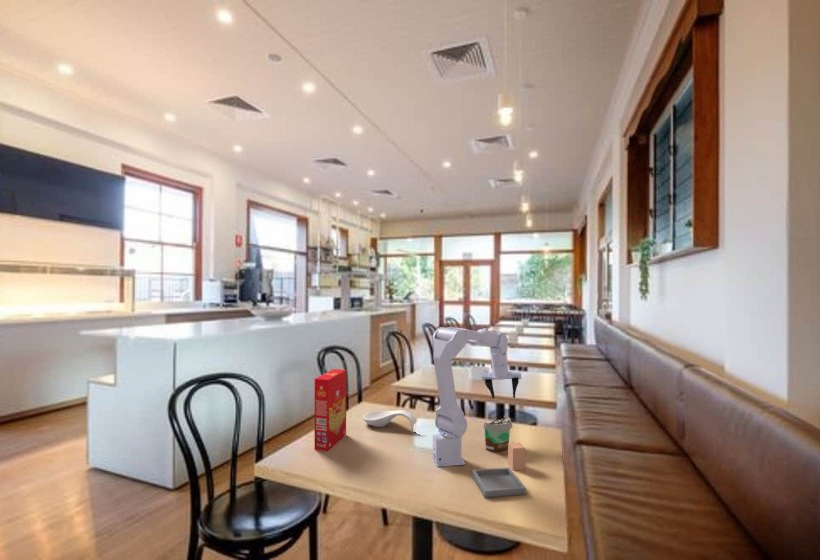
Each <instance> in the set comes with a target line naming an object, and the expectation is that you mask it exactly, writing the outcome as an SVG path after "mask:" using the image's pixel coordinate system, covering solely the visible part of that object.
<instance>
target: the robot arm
mask: <svg viewBox="0 0 820 560" xmlns="http://www.w3.org/2000/svg"><path fill="white" fill-rule="evenodd" d="M469 340H470V341H475V343H476V344H477V345H479V346H483V347H488V348H489V353H490V360H491V366H492V367H491V368H492V372H488V373H482V374H481V382H484V384H485V386H486V388H487V389H488V391H489V393H490V395H491V398H492V399H495V391H494V386H493V381H495V380H497V381H498V380H499V381H500V380H501V381H503V380H511V386H512V397H513V398H514V399H515V398H516V391H517V387H518V385H519V382H520V381H519V380H522V372H521V371H509V365H508V358H507V356H508V355H507V351H508V344H509V338H508V336H507V335H506V334H505V333H503V332H497V331H496V330H493V329H492V330H490V329H488V328H487V327H482V329H477V331H475V330H471V329H468V328H464V327H463V328H461V327H453V326H447V327H443V326H440V327H438V328H437V329H436V330H435V332H434V333H433V335H432V343H433V355H432V357H433V358H432V359H433V364H434V372H435V379H436V385H437V390H438V391H437V392H438V397H439V405H440V406H439V407H437V408H436V409H435V419H434V423H435V427H436V429H438V433H435V434H433V435H432V459H433V460H434V463H435V466H436V467H449V466H450V467H453V466H465V465H466V462H465V461H464V459H463V457H462V453H463V452H462V450H463V449H462V446H463V445H462V441H463V440H462V439H463V436H465V433H466V432H467V428H468V421H467V419H466V418H465V413H464V412H463V410H462V409H461V407H460V406H459V405H458V400H457V394H456V387H455V380H454V373H453V367H452V360H453V358H456V357H457V356H458V355H459V353H461V351H462V350H463V349H464V347H466V344H469V343H468V342H469Z"/></svg>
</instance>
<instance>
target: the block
mask: <svg viewBox="0 0 820 560" xmlns="http://www.w3.org/2000/svg"><path fill="white" fill-rule="evenodd" d="M507 452H508V453H507V465H508V467H509V468H510V469H511V470H512V471H522V470H525V468H526V467H525V466H526V463H525V462H526V447H525V446H524V445H523V444H522V443H521V442H509V443H508V450H507Z"/></svg>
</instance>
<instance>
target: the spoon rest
mask: <svg viewBox="0 0 820 560" xmlns="http://www.w3.org/2000/svg"><path fill="white" fill-rule="evenodd" d="M397 416H402V417H404V418H406V419H407V420H408V421H409V422H410V426H411V433H412V434H414V433H413V426H414V424H415V423H416V421H417V422H418V420H417V419H416V417H415V416H414V415H413V414H412V413H410V412H409V411H406V410H403V409H397V410H374V411H371V412H368V413H366V414H364V415H363V417H362V419H363V420H364V421H363V422H365V423H366V424H367V425H369V426H371V427H375V428H381V427H385V426H387V425H388V424H389V423H390V422H391V421H393V419H394V418H396V417H397Z"/></svg>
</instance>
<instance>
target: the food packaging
mask: <svg viewBox="0 0 820 560" xmlns="http://www.w3.org/2000/svg"><path fill="white" fill-rule="evenodd" d="M345 436H347V369H341V368H333V369H331V370H329V371H327V372H325V373H324V374H321V375H319V376H317V377H315V378H314V450H315V451H323V452H330V450H331V449H332V448H334V447H335V445H337V444H338V443H339V442H340V441H341V440H342V439H343V438H344V437H345Z"/></svg>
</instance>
